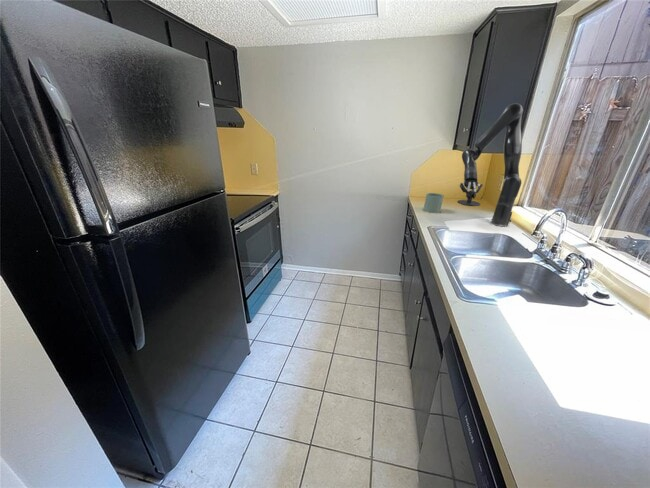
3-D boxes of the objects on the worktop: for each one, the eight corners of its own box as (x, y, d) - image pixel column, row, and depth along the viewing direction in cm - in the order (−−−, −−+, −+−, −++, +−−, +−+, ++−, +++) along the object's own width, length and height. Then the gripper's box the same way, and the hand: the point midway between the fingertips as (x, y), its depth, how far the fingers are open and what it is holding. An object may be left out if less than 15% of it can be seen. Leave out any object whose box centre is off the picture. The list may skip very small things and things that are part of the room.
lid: (474, 202, 173) (477, 189, 170) (484, 207, 161) (487, 193, 158) (453, 201, 174) (456, 188, 171) (462, 206, 162) (465, 193, 158)
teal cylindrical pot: (437, 208, 209) (440, 193, 204) (442, 213, 198) (446, 197, 193) (421, 207, 210) (424, 192, 205) (426, 212, 199) (429, 196, 193)
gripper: (461, 171, 168) (461, 193, 162) (484, 172, 165) (485, 195, 159) (457, 178, 175) (457, 200, 169) (479, 179, 172) (480, 201, 166)
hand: (471, 197), depth 164 cm, fingers closed on lid, 2 cm apart
